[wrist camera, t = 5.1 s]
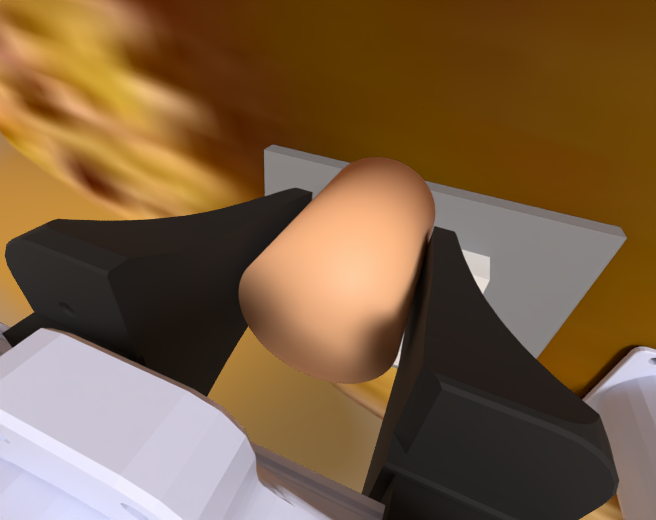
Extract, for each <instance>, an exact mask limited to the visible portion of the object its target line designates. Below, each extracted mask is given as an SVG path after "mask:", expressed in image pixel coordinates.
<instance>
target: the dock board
mask: <svg viewBox="0 0 656 520" xmlns="http://www.w3.org/2000/svg"><path fill="white" fill-rule="evenodd" d="M349 164H351V163H348V162H344V161H339V160H335V159H331V158H327V157H323V156H319V155H314V154H310V153H306V152H302V151H298V150H293V149H289V148H285V147H281V146H277V145H271V146H270V147H268V148H266V149H265V150H264V171H265V196H267V195H270V194H273V193H277V192H280V191H283V190H287V189H291V188H300V189H303V190H307V191H310V192H313V195H312V200H313V199H314V198H315V197H316V196H317V195H318V194H319V193H320V192H321V191H322V190H323V189H324V188H325V187H326V186H327V184H328V183H329V182H330V181H331V180H332V179H333V178H334V177H335V176H336V175H337V174H338V173H339V172H340V171H341V170H342V169H343V168H345V167H346V166H347V165H349ZM425 182H426V184H427V185H428V187H429V189H430V191H431V193H432V196H433V199H434V203H435V211H436V215H435V222H434V226H437V227H440V228H444V229H447V230H451V231H455V233H456V235H457V237H458V241H459V244H460V247H461V249H462V252H463V255H464V257H465V260H466V262H467V264H468V266H469V269H470V271H471V273H472V275H473V277H474V279H475V281H476V283H477V285H478V287H479V288H480V290H481V292H482V294H483V295H484V297H485V298H486V300H487V301H488V303H489V304H490V306H491V307H492V308H493V310H494V311H495V313H496V314H497V315H498V317H499V318H500V319H501V321H502V322H503V323H504V324H505V326H506V327H507V328H508V329H509V330H510V331H511V333H512V334H513V335H514V336H515V337H516V338H517V340H518V341H519V342H520V343H521V344H522V345H523V346H524V347H525V348H526V349H527V350H528V351H529V352H530V353H531V354H532V356H533V357H534V358H535V359H537V357H538V356H539V355H540V353H541V352H542V351H543V349H544V348H545V347H546V345H547V344H548V343H549V341H550V340H551V339H552V337H553V336H554V335H555V333H556V332H557V331H558V329H559V328H560V327H561V325H562V324H563V323H564V321H565V320H566V319H567V317H568V316H569V315H570V313H571V312H572V311H573V309H574V308H575V307H576V305H577V304H578V303H579V301H580V300H581V299H582V297H583V296H584V295H585V293H586V292H587V291H588V289H589V288H590V287H591V285H592V284H593V283H594V281H595V280H596V279H597V277H598V276H599V275H600V273H601V272H602V271H603V269H604V268H605V267H606V265H607V264H608V263H609V261H610V260H611V259H612V257H613V256H614V255H615V253H616V252H617V251H618V249H619V248H620V247H621V245H622V244H623V243H624V241H625V240H626V239H627V238H626V236H625V234H624V232H623V231H622V229H621V227H616V226H612V225H608V224H604V223H600V222H595V221H591V220H587V219H583V218H579V217H574V216H570V215H566V214H562V213H558V212H554V211H549V210H545V209H541V208H537V207H533V206H528V205H524V204H520V203H516V202H512V201H507V200H503V199H499V198H495V197H491V196H486V195H482V194H478V193H474V192H470V191H465V190H461V189H457V188H453V187H449V186H444V185H440V184H436V183H432V182H428V181H425ZM434 226H433V229H434ZM432 232H433V230H432ZM431 235H432V233H431ZM430 238H431V237H430ZM403 337H404V335H403ZM402 342H403V338H402ZM402 342H401V345H400V349H399V353H398V356H397V358H396V360H395V362H394V364H393V365H392V367H395V368H398V364H399V360H400V354H401V348H402Z"/></svg>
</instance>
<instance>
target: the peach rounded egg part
mask: <svg viewBox="0 0 656 520" xmlns="http://www.w3.org/2000/svg"><path fill="white" fill-rule="evenodd" d="M435 215H436V211H435V203H434V199H433V196H432V193H431V191H430V189H429V187H428V185H427V184H426V182H425V181H424V180H423V179H422V178H421V176H420V175H419V174H418V173H416V172H415V171H414V170H413V169H412V168H410V167H408V166H407V165H405V164H403V163H401V162H399V161H396V160H393V159H389V158H383V157H370V158H364V159H360V160H357V161H355V162H352V163H351V164H349V165H347V166H346V167H345V168H343V169H342V170H341V171H340V172H339V173H338V174H337V175H336V176H335V177H334V178H333V179H332V180H331V181H330V182H329V183H328V184H327V186H326V187H325V188H324V189H323V190H322V191H321V192H320V193H319V194H318V195H317V196H316V197H315V198H314V199H313V200H312V201H311V202H310V203H309V204H308V205H307V206H306V207H305V208H304V209H303V210H302V212H301V213H300V214H299V215H298V216H297V217H296V218H295V219H294V220H293V221H292V222H291V223H290V224H289V225H288V226H287V227H286V228H285V229H284V230H283V231H282V232H281V233H280V234H279V235H278V237H277V238H276V239H275V240H274V241H273V242H272V243H271V244H270V245H269V246H268V247H267V248H266V249H265V250H264V251H263V252H262V253H261V254H260V255H259V256H258V257H257V258H256V259H255V260H254V261H253V263H252V264H251V265H250V266H249V267H248V268H247V269H246V270H245V272H244V274H243V275H242V278H241V281H240V285H239V303H240V307H241V311H242V314H243V316H244V318H245V320H246V322H247V324H248V326H249V328H250V329H251V331H252V332H253V333H254V335H255V336H256V337H257V339H258V340H259V341H260V342H261V343H262V344H263V345H264V346H265V347H266V348H267V349H268V350H269V351H270V352H271V353H272V354H274V355H275V356H276V357H277V358H279V359H280V360H281V361H283V362H284V363H286V364H287V365H289V366H290V367H292V368H294V369H296V370H298V371H300V372H302V373H304V374H306V375H309V376H311V377H314V378H317V379H321V380H324V381H329V382H334V383H343V384H354V383H362V382H366V381H370V380H373V379H375V378H378V377H379V376H381V375H383V374H384V373H385V372H386V371H388V370H389V369H390V368H391V366H392V365H393V364H394V362H395V360H396V358H397V356H398V353H399V349H400V345H401V342H402V338H403V335H404V331H405V327H406V324H407V320H408V316H409V313H410V309H411V306H412V302H413V298H414V295H415V291H416V288H417V284H418V280H419V277H420V273H421V269H422V265H423V261H424V258H425V254H426V251H427V247H428V244H429V241H430V237H431V233H432V230H433V226H434V222H435Z"/></svg>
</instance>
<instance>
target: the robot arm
mask: <svg viewBox="0 0 656 520" xmlns="http://www.w3.org/2000/svg"><path fill="white" fill-rule="evenodd" d="M312 195H313V192H310V191H307V190H303V189H300V188H291V189H287V190H283V191H280V192H277V193H273V194H270V195H267V196H264V197H261V198H258V199H254V200H251V201H248V202H244V203H241V204H237V205H233V206H230V207H226V208H222V209H218V210H214V211H209V212H204V213H198V214H193V215H186V216H178V217H169V218H159V219H148V220H123V221H97V220H96V221H95V220H68V219H56V220H52V221H50V222H48V223H46V224H43V225H42V226H39V227H37V228H35V229H33V230H31V231H29V232H27V233H24V234H22V235H20V236H18V237H16V238H14V239H12V240H11V241H9V242H8V244H7V245H6V251H5V258H6V262H7V265H8V267H9V269H10V271H11V273H12V275H13V277H14V279H15V280H16V282H17V284H18V285H19V287H20V289H21V290H22V292H23V294H24V295H25V297H26V299H27V300H28V302H29V304H30V306H31V307H32V309H33V311H34V313H32V314H31V315H29V316H28V317H26V318H25V319H23V320H22V321H20V322H19V323H17V324H16V325H14V326H12V327H9V326H7V325H5V324H3V323H1V322H0V520H579V519H580V518H582V517H584V516H585V515H587V514H589V513H590V512H592V511H594V510H595V509H597V508H599V507H600V506H602V505H603V504H605V503H606V502H607V501H608V500H609V499H610V498H611V497H613V496H614V495H615V494H616V492H617V496H618V500H619V503H620V507H621V511H622V515H623V519H624V520H656V359H651V358H656V350H655V349H652V348H649V347H636V348H634V349H632V350H631V351H630V352H629V353H628V354H627V355H626V356H625V357H624V358H623V359H622V360H621V361H620V362H619V363H618V364H617V365H616V366H615V367H614V368H613V369H612V370H611V371H610V372H609V373H608V374H607V375H606V376H605V377H604V378H603V379H602V380H601V381H600V382H599V383H598V384H597V385H596V386H595V387H594V388H593V389H592V390H591V391H590V392H589V393H588V394H587V395H586V396H585V397H584V398H583V399H580V398H579V397H578V396H577V395H576V394H574V393H573V392H572V391H571V390H570V389H568V388H567V387H566V386H565V385H564V384H562V383H561V382H560V381H559V380H558V379H557V378H556V377H554V376H553V375H552V374H551V373H550V372H549V371H548V370H547V369H546V368H545V367H544V366H543V365H542V364H541V363H540V362H539V361H538V360H537V359H535V358H534V357H533V356H532V354H531V353H530V352H529V351H528V350H527V349H526V348H525V347H524V346H523V345H522V344H521V343H520V342H519V341H518V340H517V338H516V337H515V336H514V335H513V334H512V333H511V331H510V330H509V329H508V328H507V327H506V326H505V324H504V323H503V322H502V321H501V319H500V318H499V317H498V315H497V314H496V313H495V311H494V310H493V308H492V307H491V306H490V304H489V303H488V301H487V300H486V298H485V297H484V295H483V294H482V292H481V290H480V288H479V287H478V285H477V283H476V281H475V279H474V277H473V275H472V273H471V271H470V269H469V266H468V264H467V262H466V260H465V257H464V255H463V252H462V249H461V247H460V244H459V241H458V237H457V235H456V233H455V231H451V230H447V229H444V228H440V227H437V226H434V229H433V232H432V235H431V238H430V241H429V244H428V247H427V251H426V254H425V258H424V261H423V265H422V269H421V273H420V277H419V280H418V284H417V288H416V291H415V295H414V298H413V302H412V306H411V309H410V313H409V316H408V320H407V324H406V327H405V331H404V337H403V342H402V348H401V354H400V360H399V364H398V369H397V373H396V377H395V380H394V384H393V387H392V391H391V394H390V398H389V401H388V405H387V408H386V412H385V415H384V419H383V422H382V426H381V429H380V433H379V436H378V440H377V443H376V447H375V450H374V453H373V457H372V460H371V464H370V467H369V470H368V474H367V478H366V481H365V484H364V487H363V491H362V494H360V493H358V492H356V491H354V490H352V489H350V488H348V487H345V486H344V485H342V484H339V483H337V482H335V481H333V480H331V479H329V478H327V477H325V476H323V475H321V474H318V473H316V472H314V471H312V470H310V469H308V468H306V467H304V466H301V465H299V464H297V463H295V462H293V461H291V460H289V459H287V458H285V457H283V456H281V455H278V454H276V453H274V452H272V451H270V450H268V449H266V448H264V447H262V446H259V445H257V444H255V443H253V442H251V441H250V439H249V437H248V435H247V432H246V430H245V428H244V427H243V426H241V424H240V423H239V422H238V421H236V420H235V418H234V417H233V416H231V415H230V414H229V413H228V412H227V411H226V410H225V409H224V408H223V407H222V406H221V405H219V404H217V403H216V402H214V401H212V400H211V399H209V398H207V396H208V394H209V392H210V390H211V388H212V386H213V385H214V383H215V381H216V379H217V378H218V376H219V374H220V372H221V370H222V369H223V367H224V365H225V363H226V361H227V360H228V358H229V357H230V355H231V353H232V352H233V350H234V348H235V347H236V345H237V343H238V341H239V340H240V338H241V337H242V335H243V334H244V332H245V330H246V329H247V327H248V324H247V322H246V320H245V318H244V316H243V314H242V311H241V307H240V303H239V285H240V281H241V278H242V275H243V274H244V272H245V270H246V269H247V268H248V267H249V266H250V265H251V264H252V263H253V261H254V260H255V259H256V258H257V257H258V256H259V255H260V254H261V253H262V252H263V251H264V250H265V249H266V248H267V247H268V246H269V245H270V244H271V243H272V242H273V241H274V240H275V239H276V238H277V237H278V235H279V234H280V233H281V232H282V231H283V230H284V229H285V228H286V227H287V226H288V225H289V224H290V223H291V222H292V221H293V220H294V219H295V218H296V217H297V216H298V215H299V214H300V213H301V212H302V210H303V209H304V208H305V207H306V206H307V205H308V204H309V203H310V202H311V201H312Z"/></svg>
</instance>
